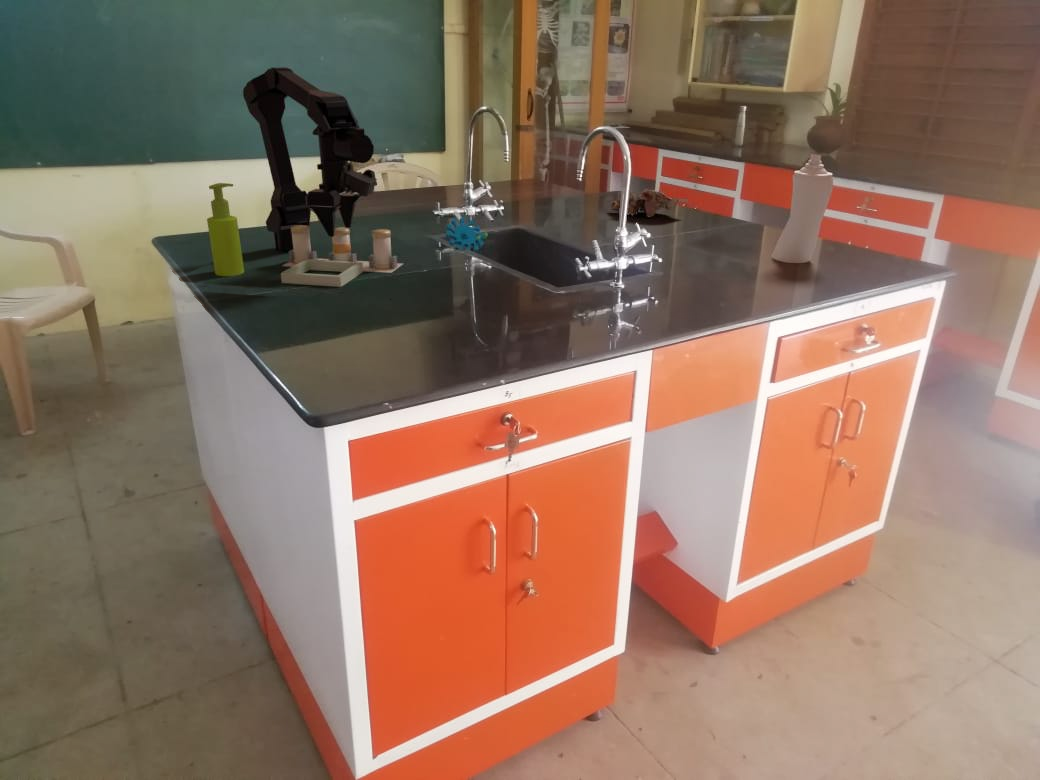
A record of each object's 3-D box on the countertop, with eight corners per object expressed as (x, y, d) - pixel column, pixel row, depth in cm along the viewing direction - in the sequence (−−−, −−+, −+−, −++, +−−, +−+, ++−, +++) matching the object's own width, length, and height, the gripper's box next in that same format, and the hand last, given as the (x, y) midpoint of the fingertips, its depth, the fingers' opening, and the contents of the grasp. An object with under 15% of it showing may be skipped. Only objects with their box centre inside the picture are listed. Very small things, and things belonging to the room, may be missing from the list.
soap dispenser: (253, 275, 168) (241, 182, 160) (233, 283, 162) (219, 187, 154) (231, 273, 170) (218, 180, 162) (210, 281, 164) (195, 185, 156)
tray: (282, 289, 159) (280, 273, 157) (307, 274, 170) (306, 259, 168) (341, 293, 157) (340, 276, 155) (363, 278, 167) (362, 262, 166)
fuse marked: (331, 266, 171) (327, 230, 167) (338, 262, 174) (335, 226, 171) (348, 267, 170) (345, 231, 167) (354, 263, 174) (352, 227, 170)
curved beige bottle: (822, 258, 188) (840, 152, 178) (818, 268, 179) (837, 157, 169) (773, 253, 193) (788, 149, 183) (767, 262, 184) (782, 154, 174)
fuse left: (291, 264, 172) (287, 228, 169) (299, 259, 176) (295, 224, 173) (307, 265, 172) (304, 229, 168) (315, 260, 175) (312, 225, 172)
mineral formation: (693, 216, 230) (694, 183, 230) (659, 206, 219) (659, 172, 220) (636, 229, 247) (636, 198, 247) (601, 220, 236) (602, 188, 237)
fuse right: (371, 268, 169) (369, 232, 166) (378, 264, 173) (375, 228, 169) (388, 269, 168) (386, 233, 165) (395, 265, 172) (393, 229, 169)
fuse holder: (282, 272, 171) (280, 254, 170) (298, 263, 178) (296, 246, 177) (391, 279, 167) (390, 261, 165) (403, 270, 174) (402, 252, 172)
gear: (449, 249, 186) (444, 214, 190) (443, 262, 191) (437, 228, 195) (492, 251, 191) (485, 217, 194) (484, 264, 196) (478, 231, 199)
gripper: (353, 166, 153) (358, 243, 159) (385, 154, 170) (389, 225, 176) (300, 163, 155) (308, 240, 161) (338, 153, 172) (343, 222, 178)
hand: (340, 232), depth 169 cm, fingers open, 9 cm apart
